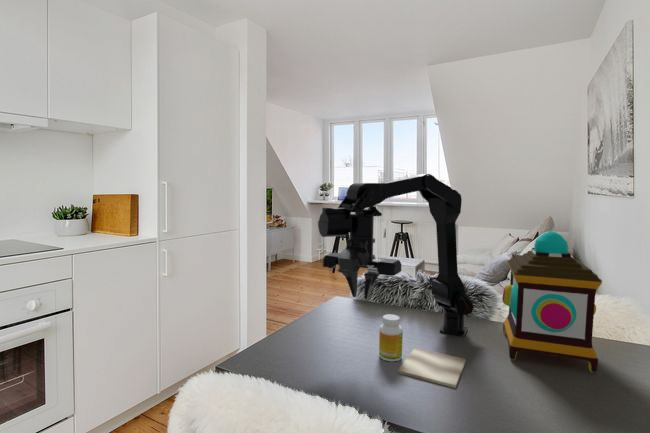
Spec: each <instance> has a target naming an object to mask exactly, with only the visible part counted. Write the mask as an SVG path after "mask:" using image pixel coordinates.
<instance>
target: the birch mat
mask: <svg viewBox="0 0 650 433" xmlns="http://www.w3.org/2000/svg"><path fill="white" fill-rule="evenodd" d="M466 363H467V359H466V358H463V357H458V356H454V355H449V354H445V353H442V352H441V353H440V352H435V351H432V350H427V349H422V348H418V347H414V348H413V350H412V351H411V352H410V353H409V355H408V356H407V357H406V359H405V360H404V361H403V363H402V364H401V365H400V367H399V368H398V370H397V373H398V374H401V375H404V376H408V377H412V378H416V379H420V380H423V381H427V382H430V383H431V382H432V383H434V384H438V385H443V386H446V387H449V388H454V389H456V387H457V385H458V383H459V381H460V378H461V375H462V373H463V370H464V367H465V366H466Z"/></svg>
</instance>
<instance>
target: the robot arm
mask: <svg viewBox="0 0 650 433" xmlns="http://www.w3.org/2000/svg"><path fill="white" fill-rule="evenodd" d="M416 192H419V193H420V195H421V197H422V198H423V199H424V200H425V201H426V202H427V203H428V208H429V212H430V214H431V216H432V219H433V220H434V221H435V226H436V229H435V230H436V245H437V263H438V264H437V265H438V274H437V276H436V277H435V279H431V281H430V282H431V283H430V284H431V295H433V298H434V300H435V301H436V305H437V306H438V307H440V308H443V311H442V312H443V313H442V314H443V318H442V320H443V321H442V325H441V327H440V328H439V331H438V332H439V333H441V334H442V333H444V334H448V335H453V336H458V337H465V335H466V334H467V331H468V327H467V326H465V322H466V321H465V320H466V316H469V314H472V313H473V310H474V304H473V303H472V302H471V300H470V299H469V298H468V296H466V295H467V294H466V289H465V285H464V282H463V281H462V279H461V277H460V275H459V273H458V254H457V253H458V252H457V251H458V250H457V230H456V223H457V220H458V217H459V216H460V214H461V213H462V211H461V210H462V195H461V193H459V191H457V190H456V189H453V188H452V187H451V186H449V185H447V184H446V183H443V181H440V180H439V179H437V178H436V177H435V176H434V175H432V174H431V173H418V174H416V175H414V176H413V175H412V176H409V177H404V178H398V179H394V180H390V181H389V180H388V181H384V182H357V183H356V182H355V183H352V184H350V185H349V187H348V188H347V191H346V195H345V197H344V198H343V199H342V201H341V202H340V204H339V205H338V207H336V208H335V207H334V208H333V207H322V212H321V213H320V216H319V220H318V222H317V225H318V226H317V227H318V232H319V235H320V236H321V237H322V238H331V237H333V238H335V237H346V236H347V235H348V234H349V239H347V240H346V245H345V248H344V249H342V251H340V253H339V252H332V253H328V254H325V255H324V256H323V259H322V267H323V268H329V269H330V268H331V269H333V268H335V267H336V266H337V265H338V267H339V269H337V271H338V273H341V274H342V275H343V276H344V277H345V279H346V281H347V284H348V286H349V289H350V293H351V295H352V298H356V297H357V293H358V277H359V276H358V274H359V270H360V268H363V269H364V268H365V269H367V272H364V273H363V276H364V278H365V280H364V281H365V283H364V284H365V285H364V294H363V295H364V300H368V299H369V297H370V294H371V293H372V290H373V287H374V285H375V283H376V281H377V279H378V277H379V276H380V275H382V276H389V277H394V276H396V275H397V274H399V273H401V272H402V263H401V261H400V260H399V259H395V258H385V257H384V259H382V260H378V261H377V260H375V259H376V258H375V257H376V256H375V254H374V244H375V243H376V238H374V218H375V217H382V216H383V213H382V212H381V211H379V209H378V208H377V207H376V205H379V204H381V203H383V202H384V201H385V200H387V199H390V198H393V197H397V196H402V195H406V194H411V193H416Z"/></svg>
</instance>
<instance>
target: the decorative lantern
mask: <svg viewBox="0 0 650 433" xmlns="http://www.w3.org/2000/svg"><path fill="white" fill-rule="evenodd" d="M534 241H535V242H534V247H531V250H528V251H527V252H525V253H523V254H522V255H521V254H520V255H519V254H515V255H514V256H513V257H511V258H510V259H508V260H507V266H508V268H509V270H510V284H507V285H505V287H504V289H503V291H502V303H503V304H504V305H506V306H508V315H507V316H506V318H505V319H504V321H503V323H502V326H503V327H502V330H503V334H504V335H505V336H506V338H507V343H508V349H509V350H508V354H509V359H510V360H512V361H515V360H516V359H517V354H518V352H528V353H534V354H540V355H541V354H542V355H549V356H554V357H555V356H556V357H561V358H568V359H576V360H582V361H587V365H588V366H587V367H588V371H589V372H590V373H591V374H592V373H593V374H594V373H596V372H597V371H598V368H599V367H598V365H599V359H598V355H597V353H596V351H595V348H594V347H593V331H594V316H595V315H596V311H597V306H596V304H595V302H596V293H597V290H598V289H599V288H600V287H601V285H602V283H603V280H602V279H601V278H599V276H598V275H597V274H596V273H595V272H594V271H593V270H592V269H590V268H589V267H587V266H586V265H584V263H582V262H580V261H578V259H576V258H574V257H572V254H571V253H570V252H569V245H568V241H567V240H566V239H565V238H564V237H563V235H561V234H560V233H558V232H556V231H553V230H550V231H546V232H543V233H542V234H540V235H539V236H538V237H537V238H536V239H535V240H534Z"/></svg>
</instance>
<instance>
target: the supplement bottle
mask: <svg viewBox="0 0 650 433" xmlns="http://www.w3.org/2000/svg"><path fill="white" fill-rule="evenodd" d="M400 321H401V318H400V316H399V315H396V314H393V313H392V314H390V313H389V314H384V315H383V316H382V323H381V325H380V326H379V333H378V334H379V337H378V338H379V339H378V340H379V341H378V342H379V344H378V356H379V358H380V359H382V360H384V361H386V362H398V361H400V360H401V359H402V357H403V333H404V332H403V330H404V329H403V327H402V326H401V325H400V324H401V323H400Z"/></svg>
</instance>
